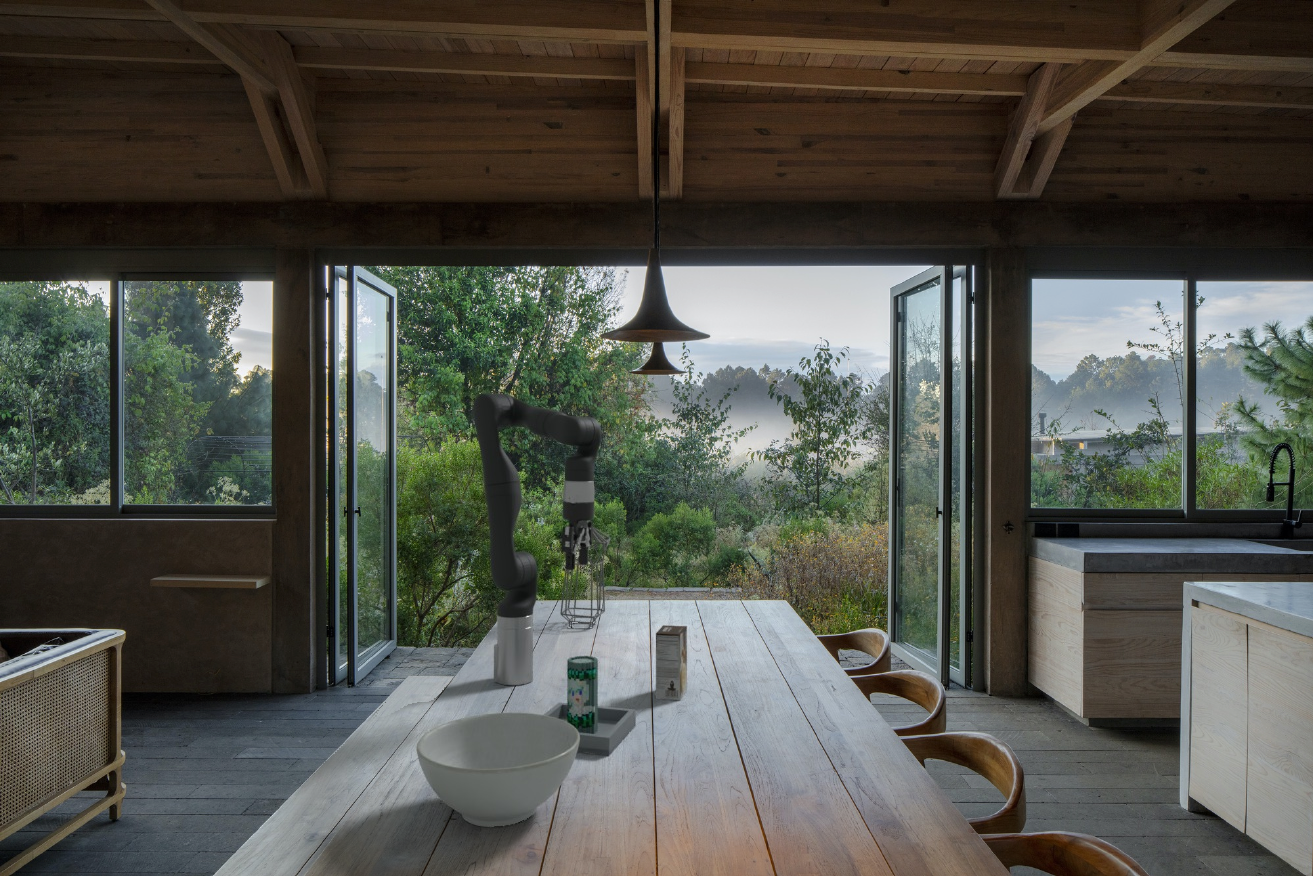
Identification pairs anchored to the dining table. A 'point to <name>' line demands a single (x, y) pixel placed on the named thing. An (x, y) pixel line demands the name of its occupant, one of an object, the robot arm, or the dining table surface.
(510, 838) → the dining table surface
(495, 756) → the decorative bowl
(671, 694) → the coffee box
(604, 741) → the tray
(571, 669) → the can
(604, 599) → the geometric lantern
